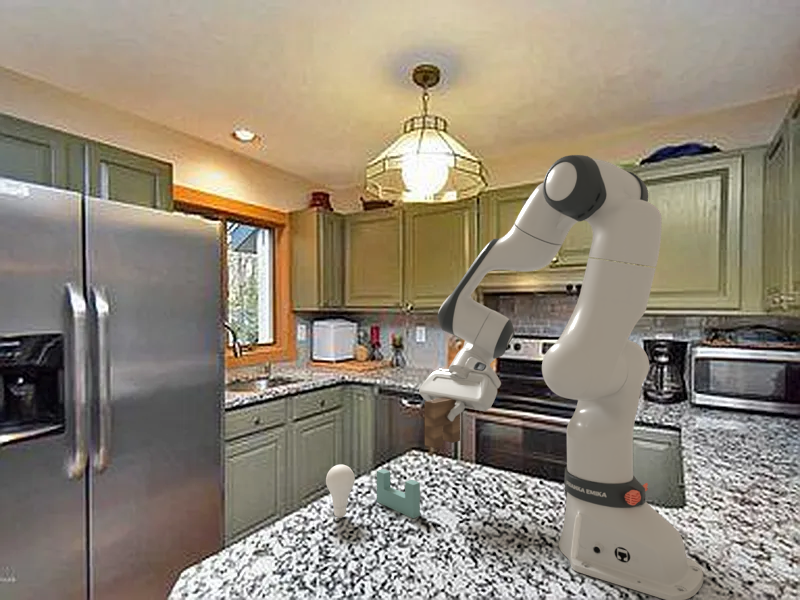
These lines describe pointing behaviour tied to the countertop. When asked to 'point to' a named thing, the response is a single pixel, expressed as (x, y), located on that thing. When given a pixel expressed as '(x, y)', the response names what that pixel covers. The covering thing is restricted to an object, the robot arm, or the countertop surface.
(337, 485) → the lightbulb
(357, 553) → the countertop surface
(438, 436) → the brown arch block
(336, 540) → the countertop surface
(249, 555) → the countertop surface
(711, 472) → the countertop surface
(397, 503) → the teal bracket
